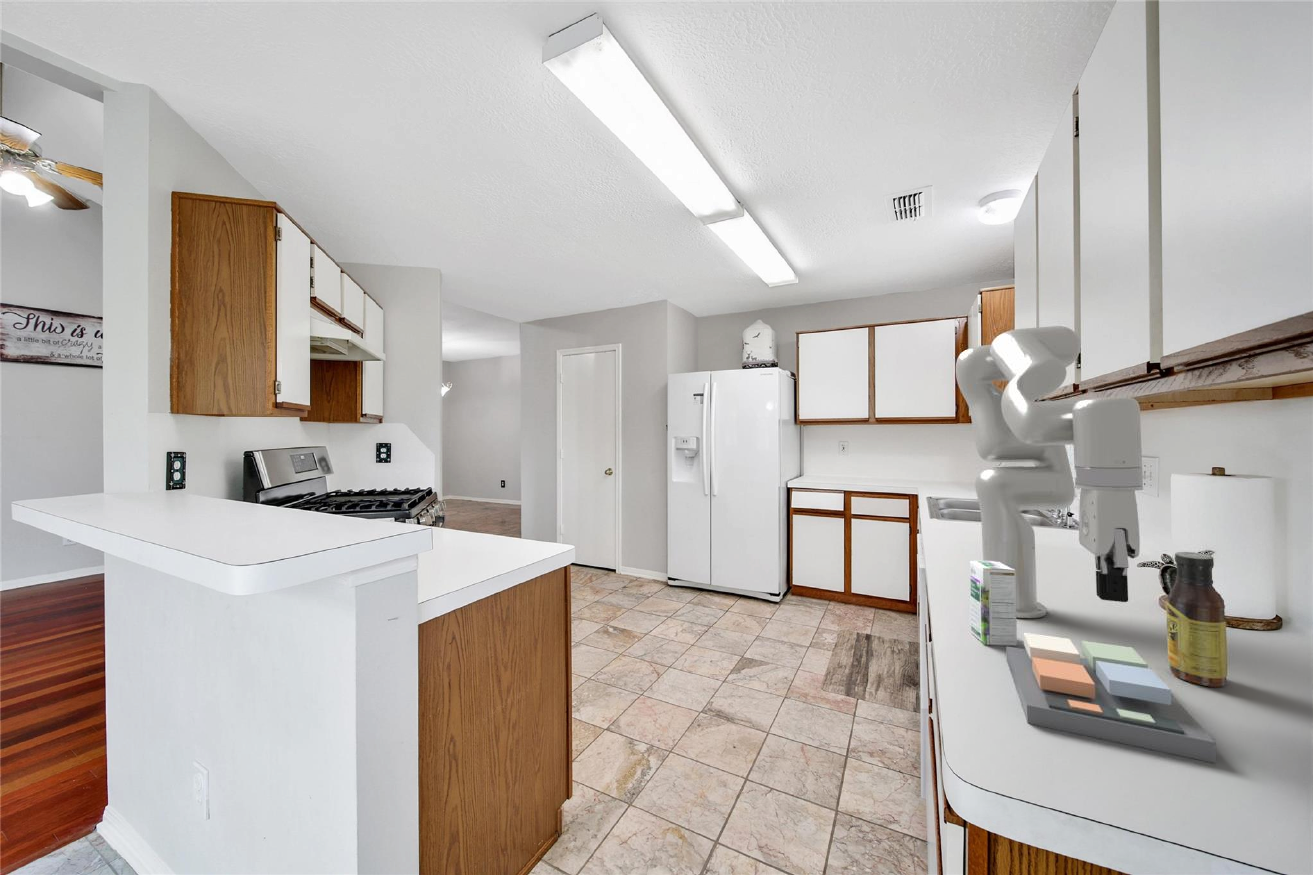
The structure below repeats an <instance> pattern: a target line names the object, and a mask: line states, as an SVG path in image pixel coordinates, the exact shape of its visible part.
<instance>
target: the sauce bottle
mask: <svg viewBox="0 0 1313 875" xmlns="http://www.w3.org/2000/svg"><path fill="white" fill-rule="evenodd" d="M1174 562H1175V564H1176V577H1175V581H1174V584H1173V585H1172V588H1171V590H1170V591H1169V593H1168V595H1167V597H1166V599H1165V604H1166V605H1165V608H1166V610H1165V611H1166V634H1167V635H1166V638H1167V640H1166V641H1167V642H1166V643H1167V662H1168V665H1169V670H1170V672H1171V673H1172V674H1173V675H1174V676H1175V677H1177V678H1178V679H1180V680H1184V681H1186V682H1189V683H1191V684H1194V685H1200V686H1206V687H1208V688H1209V687H1211V688H1219V687H1223V686H1225V685H1226V684H1227V677H1228V652H1227V651H1228V649H1227V648H1228V646H1227V640H1228V639H1227V617H1226V615H1225V614H1226V612H1225V609H1226V605H1225V601H1224V599H1223V597H1222V596H1221V594H1220V593H1219V592H1218V591H1217V590H1216V588H1215V587H1214V586H1213V585H1214V580H1213V568H1214V566H1215V565H1214V564H1215V563H1214V562H1215V561H1214V557H1213V556H1212V555H1209V554H1206V553H1200V552H1193V551H1177V552H1175V553H1174Z"/></svg>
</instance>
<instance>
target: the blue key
mask: <svg viewBox="0 0 1313 875" xmlns="http://www.w3.org/2000/svg"><path fill="white" fill-rule="evenodd" d="M1096 675H1097V676H1098V678H1099V679H1100V681H1101V682H1102V684H1103V685H1104V687H1105V688H1106V690H1107V691H1108V692H1109V694H1112V695H1117V696H1123V697H1129V698H1134V699H1140V700H1145V701H1151V702H1157V703H1162V704H1168V705H1171V694H1172V690H1171V689H1170V687H1169V686H1168V685H1167V684H1166V683H1165V682H1164V681H1163V680H1162V679H1161V677H1160V676H1159V675H1158V674H1157V673H1156V672H1155V671H1154V670H1153V669H1152V668H1149V669H1147V668H1140V667H1134V666H1127V665H1121V664H1114V663H1108V662H1101V661H1096Z"/></svg>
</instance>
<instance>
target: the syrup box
mask: <svg viewBox="0 0 1313 875" xmlns="http://www.w3.org/2000/svg"><path fill="white" fill-rule="evenodd" d="M969 579H970V581H969V584H970V585H969V588H970V589H969V591H970V593H969V595H970V596H969V598H970V599H969V601H970V602H969V603H970V608H969V609H970V633H971V635H974V637H975V638H977V639H978V640H979V641H980V642H981V643H982V644H984V646H985V645H987V646H1010V647H1013V646H1014V647H1015V646H1018V640H1017V639H1018V635H1017V634H1018V632H1017V631H1018V628H1017V626H1018V625H1017V624H1018V623H1017V622H1018V621H1017V617H1016V571H1015V569H1011V568H1010V567H1008V566H1006V565H1004V564H1002V563H1000V562H995V561H983V560H971V561H969Z"/></svg>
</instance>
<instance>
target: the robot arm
mask: <svg viewBox="0 0 1313 875" xmlns="http://www.w3.org/2000/svg"><path fill="white" fill-rule="evenodd" d="M1080 351H1081V343H1080V339H1079V336H1078V335H1077V333H1076V332H1075V331H1074V330H1073V329H1071V328H1069V327H1066V326H1062V325H1051V326H1041V327H1028V328H1027V327H1025V328H1016V329H1011V330H1008V331H1005V332H1002V333H1001V334H999V335H998V336H996V337H995V338H994V340H993V341H992V342H991V344H985V345H977V346H974V347H969V348H967V349H966V350H964V351H962V352H961V353H960V354H959V355H958V357H957V359H956V363H955V376H956V381H957V385H958V388H959V390H960V393H961V394H962V396H963V398H964V400H965V402H966V404H967V406H968V408H969V413H970V418H971V424H972V430H973V431H972V432H973V436H974V442H975V447H976V450H977V453H978V455H979V456H978V457H980V458H981V459H982V461H983V460H984V461H986V462H989V463H1032V464H1033V465H1034V466H996V467H989V468H986V469H983V470H982V471H980V472H979V473H978V474H977V475H976V478H975V484H974V485H975V486H974V487H975V492H976V497H977V500H978V504H979V505H978V506H979V513H980V521H981V536H982V537H981V538H982V542H981V543H982V561H995V562H1000V563H1002V564H1004V565H1006V566H1008V567H1010V568H1011V569H1015V571H1016V618H1019V619H1037V618H1041V617H1042V618H1043V617H1045V616H1046V614H1047V608H1046V606H1045V604H1044V605H1043V603H1041V602H1039V601H1038V598H1037V597H1038V596H1037V591H1038V590H1037V567H1036V566H1037V564H1036V534H1035V531H1034V528H1033V526H1032V524H1031V523H1030V522H1029V521H1028V520H1027V519H1026V518H1025V517H1024V516H1023V515H1022V513H1021V511H1029V510H1031V511H1035V510H1036V511H1043V510H1044V511H1047V510H1048V511H1055V510H1056V511H1059V510H1063V509H1067V508H1069V507H1070V506H1071V505H1072V504H1073V502H1074V500H1075V496H1076V490H1075V489H1080V491H1079V492H1080V493H1079V507H1078V508H1079V509H1078V510H1079V511H1078V541H1079V544H1080V546H1082V547H1083V548H1084V549H1086V550H1087V551H1088V552H1090V553H1092V555H1094V560H1095V569H1096V570H1095V584H1096V585H1095V586H1096V595H1097V597H1099V599H1100V600H1101V601H1110V602H1117V603H1119V602H1120V603H1127V602H1128V601H1129V588H1128V587H1129V584H1128V568H1129V558H1130V559H1135V558H1138V557H1139V555H1140V552H1141V550H1140V546H1141V545H1140V544H1141V542H1140V541H1141V539H1140V538H1141V537H1140V524H1139V513H1138V512H1139V511H1138V503H1137V496H1136V491H1142V490H1144V483H1143V481H1144V479H1143V478H1144V477H1143V456H1142V455H1143V454H1142V453H1143V452H1142V427H1141V408H1140V404H1139V402H1138V400H1136V399H1135V398H1133V397H1128V396H1110V397H1096V398H1087V399H1066V400H1062V399H1061V400H1046V401H1045V400H1043V401H1042V400H1039V399H1041V398H1044V397H1046V396H1048V395H1050V394H1052V393H1054V392H1055V391H1056V390H1058V389H1059V388H1060V387H1062V385H1063V384H1064V382H1065V380H1066V378H1067V368H1068V367H1069V366H1071V365H1072V364H1073V363H1075V361H1076V360H1077V359H1078V357H1079V354H1080ZM1005 381H1008V383H1007V385H1006V386H1005V388H1004V390H1003V389H1001V388H999V387H998V386H996V385H995V384H994V383H993V382H1005ZM1037 400H1039V401H1037ZM1066 445H1072V446H1073V462H1074V466H1073V467H1074V470H1073V471H1074V477H1073V473H1072V470H1071V469H1072V468H1071V463H1070V460H1069V455H1068V451H1067V446H1066Z"/></svg>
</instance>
